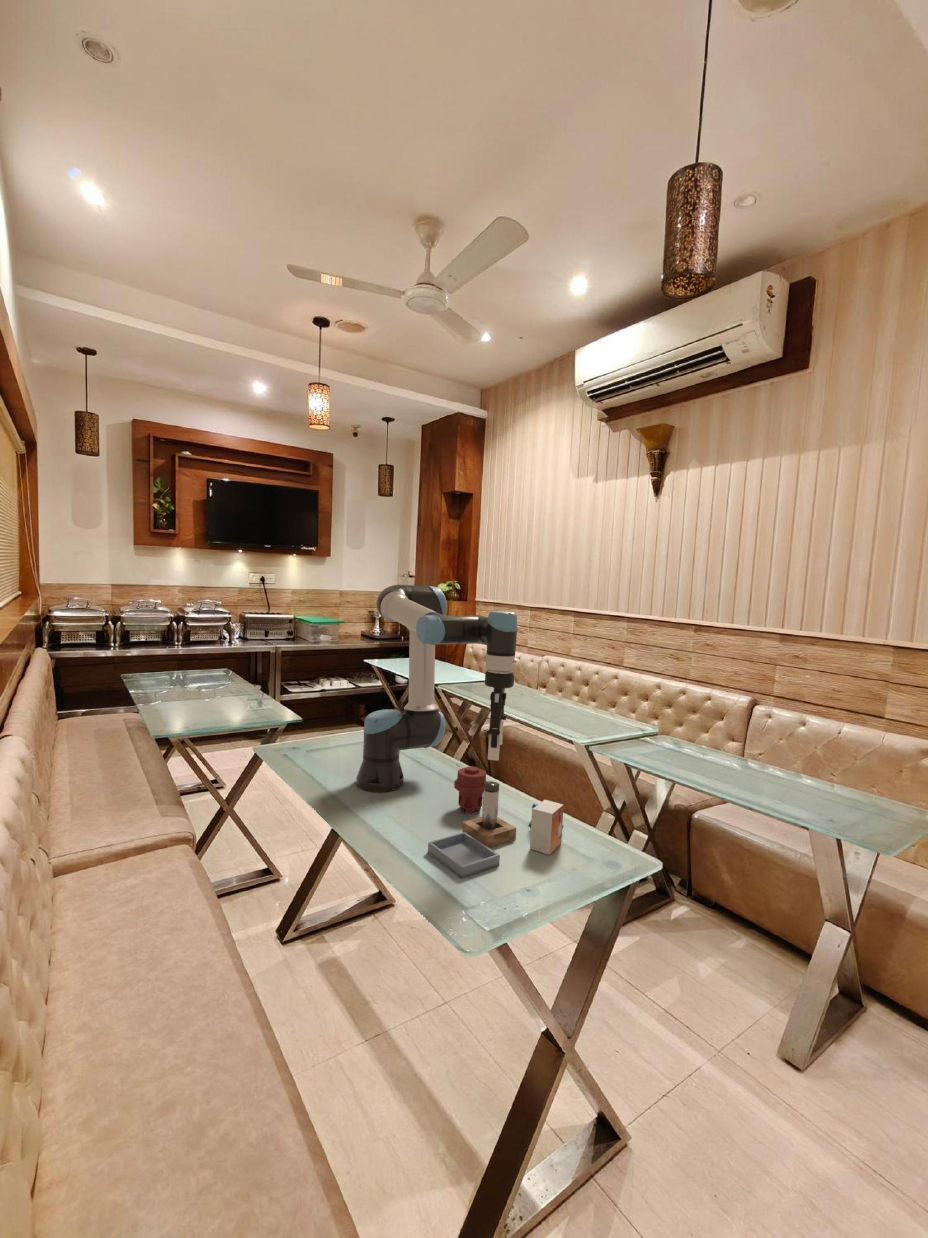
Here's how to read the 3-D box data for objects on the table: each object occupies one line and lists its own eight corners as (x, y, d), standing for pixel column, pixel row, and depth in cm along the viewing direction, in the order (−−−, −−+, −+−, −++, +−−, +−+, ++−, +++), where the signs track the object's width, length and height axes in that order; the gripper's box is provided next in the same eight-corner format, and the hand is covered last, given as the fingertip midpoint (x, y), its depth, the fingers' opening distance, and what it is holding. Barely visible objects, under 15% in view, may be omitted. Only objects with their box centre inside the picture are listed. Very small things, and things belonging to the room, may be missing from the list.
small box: (549, 856, 135) (552, 814, 134) (529, 849, 138) (531, 808, 137) (561, 843, 142) (564, 804, 141) (542, 837, 145) (544, 798, 144)
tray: (427, 852, 134) (428, 842, 133) (463, 841, 140) (464, 831, 140) (461, 878, 122) (462, 867, 122) (499, 865, 129) (499, 855, 129)
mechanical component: (489, 805, 164) (484, 818, 154) (456, 801, 166) (449, 814, 156) (491, 765, 163) (486, 776, 154) (458, 761, 165) (451, 772, 156)
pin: (478, 834, 144) (480, 783, 143) (489, 831, 147) (492, 780, 146) (487, 841, 141) (490, 788, 140) (499, 837, 143) (502, 785, 143)
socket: (462, 833, 145) (462, 822, 145) (491, 824, 151) (491, 814, 151) (486, 848, 137) (486, 837, 137) (515, 839, 143) (516, 828, 143)
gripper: (512, 680, 129) (507, 768, 130) (516, 665, 153) (511, 739, 155) (480, 677, 130) (475, 765, 131) (489, 663, 154) (485, 737, 156)
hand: (495, 751), depth 143 cm, fingers open, 13 cm apart
